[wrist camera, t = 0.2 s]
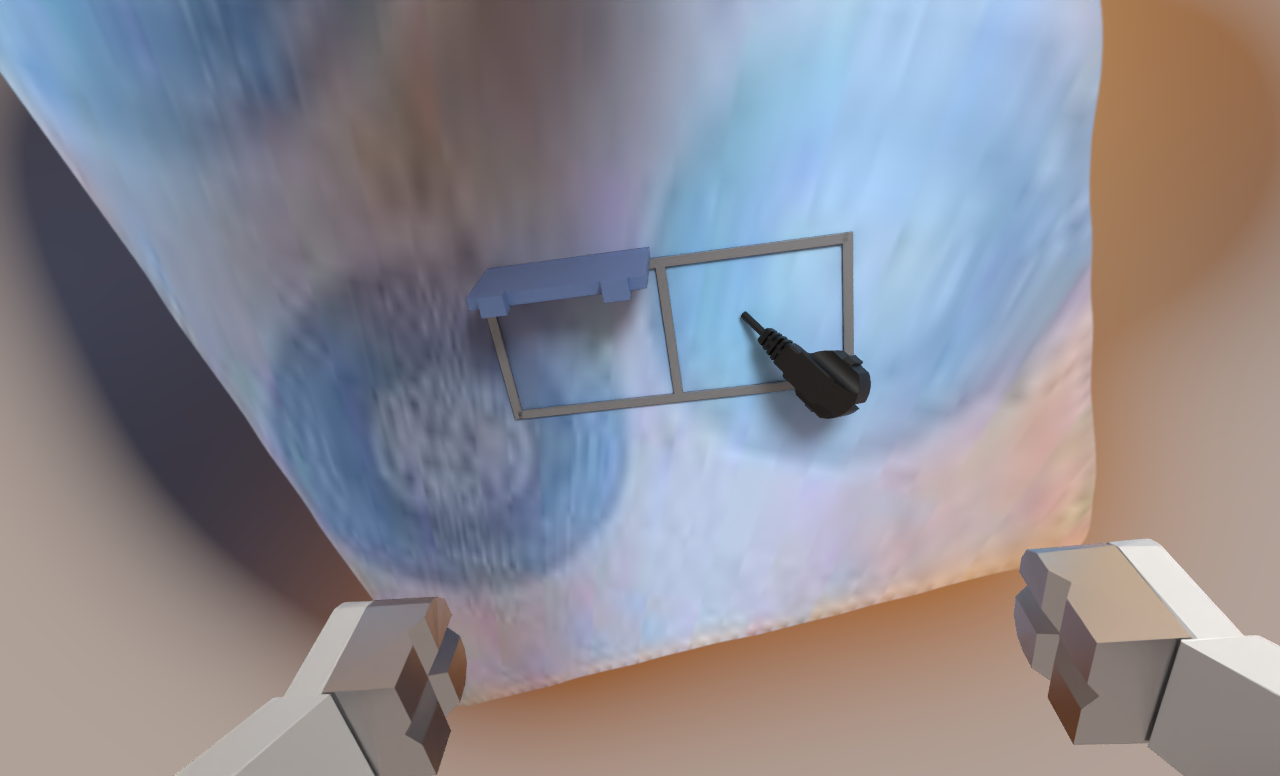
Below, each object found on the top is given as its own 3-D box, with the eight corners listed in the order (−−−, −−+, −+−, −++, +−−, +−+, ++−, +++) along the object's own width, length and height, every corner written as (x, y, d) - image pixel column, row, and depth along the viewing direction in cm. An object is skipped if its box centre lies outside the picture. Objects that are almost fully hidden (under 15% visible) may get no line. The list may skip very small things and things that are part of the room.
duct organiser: (473, 267, 59) (445, 302, 52) (852, 215, 55) (878, 246, 48) (516, 417, 66) (496, 467, 59) (853, 381, 62) (875, 429, 55)
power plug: (758, 287, 58) (864, 383, 53) (796, 293, 64) (894, 379, 59) (720, 339, 60) (818, 435, 55) (760, 340, 66) (852, 426, 61)
